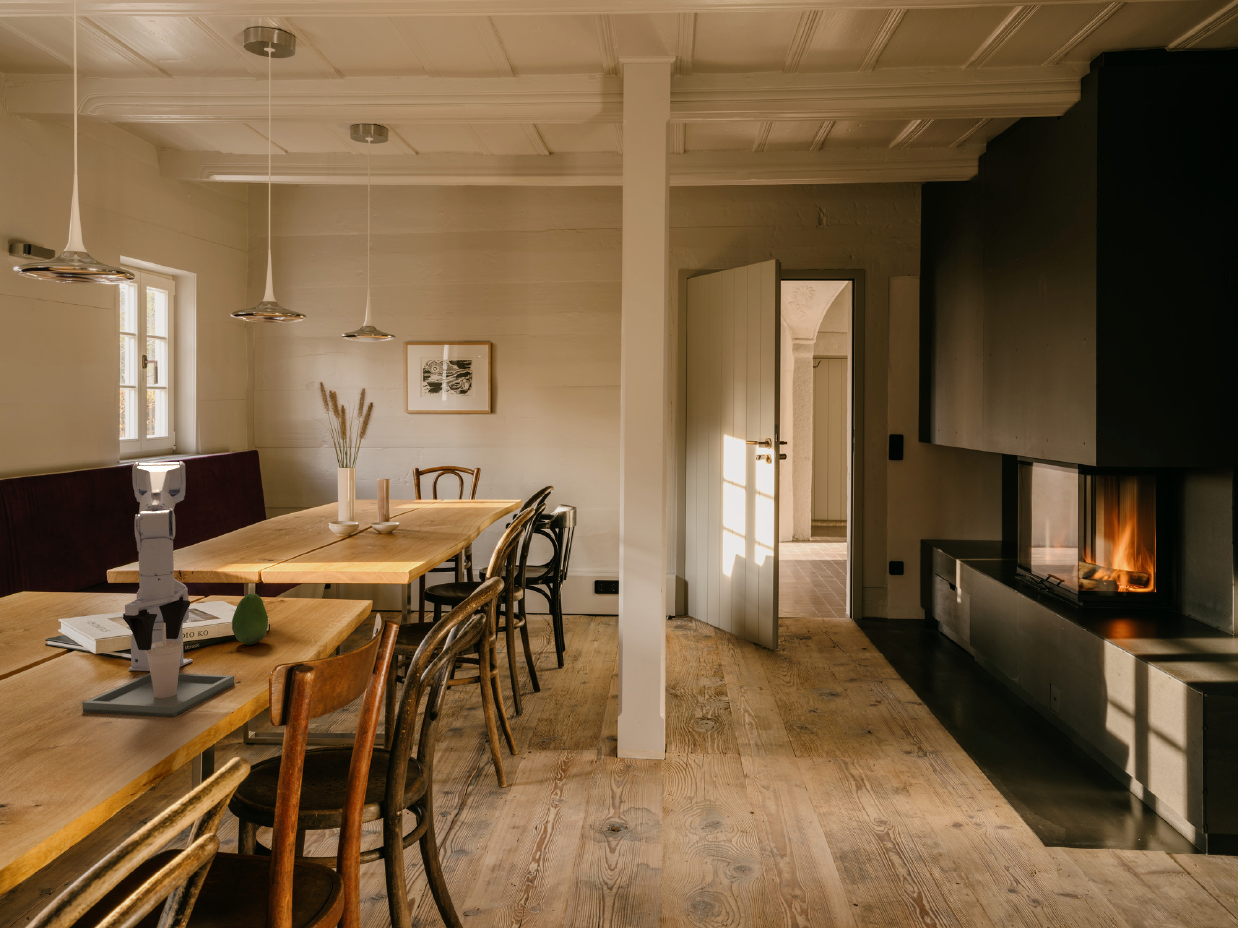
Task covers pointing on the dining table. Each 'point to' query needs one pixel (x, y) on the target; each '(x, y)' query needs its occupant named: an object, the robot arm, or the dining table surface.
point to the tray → (142, 701)
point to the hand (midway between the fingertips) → (158, 643)
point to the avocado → (250, 620)
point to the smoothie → (164, 665)
